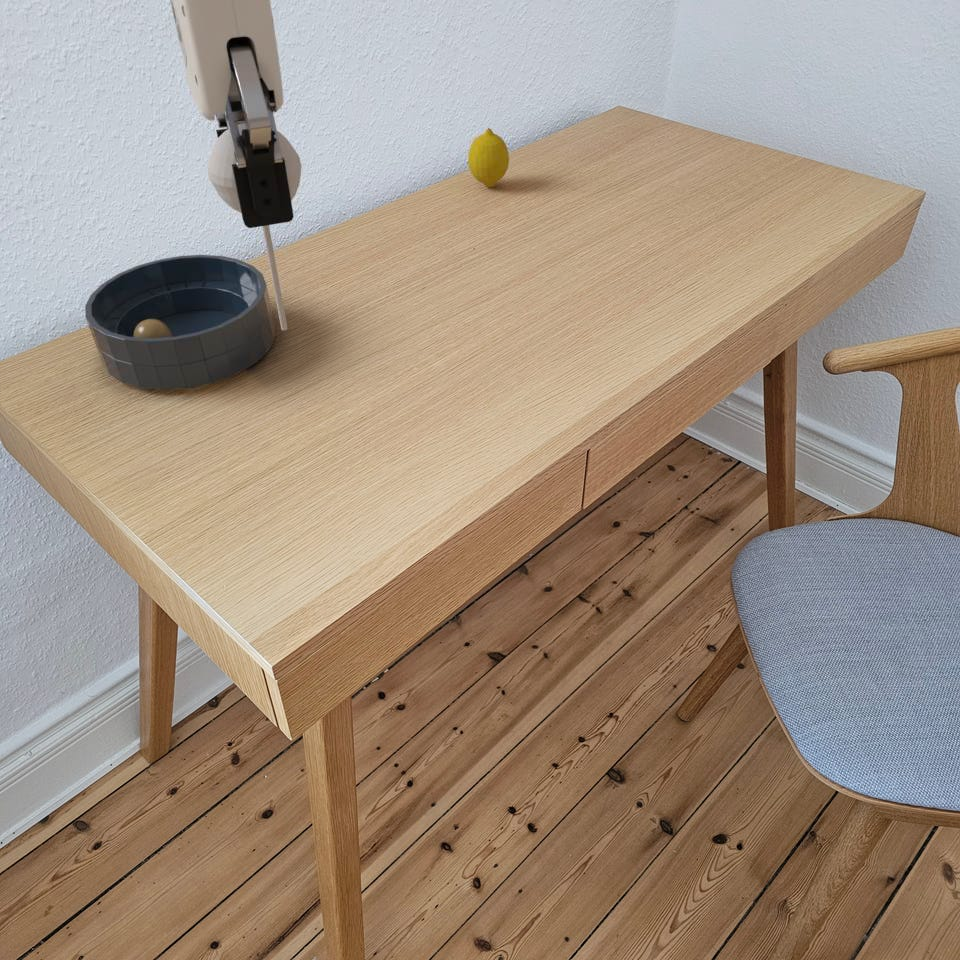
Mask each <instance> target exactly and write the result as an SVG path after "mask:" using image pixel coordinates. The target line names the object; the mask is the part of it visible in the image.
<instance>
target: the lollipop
mask: <svg viewBox="0 0 960 960" xmlns="http://www.w3.org/2000/svg"><path fill="white" fill-rule="evenodd" d="M238 128H239V132H240V135H242V134H241V132H242V130H244V129H246V125H245V123H241V124H238ZM277 134H278V138H279V143H280V148H281V153H282V157H283V158H284V160H285V166H286V172H287V178H288V184H289V191H290V197H291V202H292V201H293V199H294V198H295V196H296V195H297V191H298V189H299V186H300V183H301V175H302V162H301V159H300V155H299V154H298V152H297V151H296V149H295V148H294V146H293V145H292V143H291V142H290V141H289V140H288V139H287V137H286V136H285V135H284V134H283V133H281V132H280V131H278V130H277ZM232 164H236V160H235V156H234V152H233V147H232V143H231V139H230V134H229V130H226V131H225V132H224V133H223V134H222V135H221V136H220V137H219V138H218V137H217V139H216V141H215V142H214V144H213V146H212V148H211V151H210V154H209V159H208V163H207V174H208V179H209V181H210V183H211V184H212V186H213V188H214V190H215V191H216V193H217V194H218V196H219V197H220V198H221V200H222V201H223V202H224V203H225V204H226V205H227V206H229V207H230V208H231V209H232V210H235V211H236V212H239V213H240V214H242V213H241V208H240V203H239V198H238V193H237V188H236V183H235V179H234V174H233V169H232ZM261 227H262V232H263V237H264V243H265V249H266V254H267V259H268V264H269V269H270V275H271V280H272V281H271V282H272V287H273V291H274V296H275V297H274V298H275V302H276V307H277V312H278V319H279V324H280V329H281V331H287V330H288V328H289V327H288V324H287V318H286V313H285V305H284V301H283V296H282V290H281V285H280V278H279V273H278V267H277V263H276V257H275V251H274V246H273V240H272V234H271V230H270V229H271V228H270V225H267V226H261Z"/></svg>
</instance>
